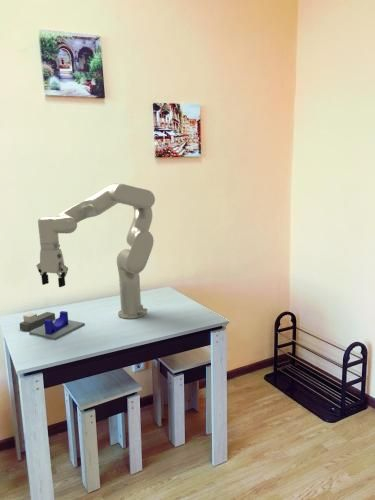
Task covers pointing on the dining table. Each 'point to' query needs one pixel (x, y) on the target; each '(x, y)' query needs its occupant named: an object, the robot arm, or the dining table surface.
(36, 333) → the slate mat
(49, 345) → the dining table surface
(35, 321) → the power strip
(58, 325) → the blue curved block
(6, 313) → the dining table surface
